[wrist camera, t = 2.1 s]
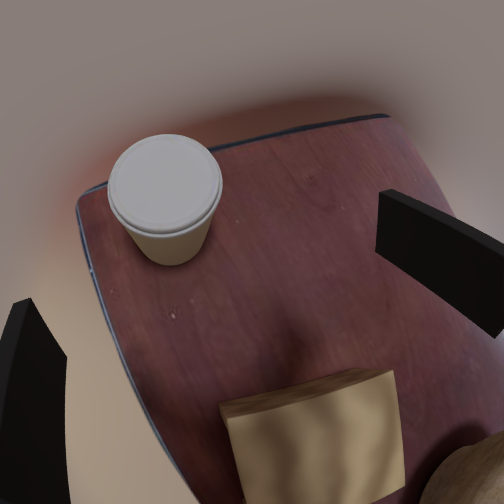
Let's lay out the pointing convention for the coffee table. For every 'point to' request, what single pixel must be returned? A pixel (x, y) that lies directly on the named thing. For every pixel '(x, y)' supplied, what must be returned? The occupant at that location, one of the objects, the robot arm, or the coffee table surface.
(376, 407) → the wooden stand
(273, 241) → the coffee table surface
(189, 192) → the coffee cup
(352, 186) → the coffee table surface
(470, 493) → the vase
